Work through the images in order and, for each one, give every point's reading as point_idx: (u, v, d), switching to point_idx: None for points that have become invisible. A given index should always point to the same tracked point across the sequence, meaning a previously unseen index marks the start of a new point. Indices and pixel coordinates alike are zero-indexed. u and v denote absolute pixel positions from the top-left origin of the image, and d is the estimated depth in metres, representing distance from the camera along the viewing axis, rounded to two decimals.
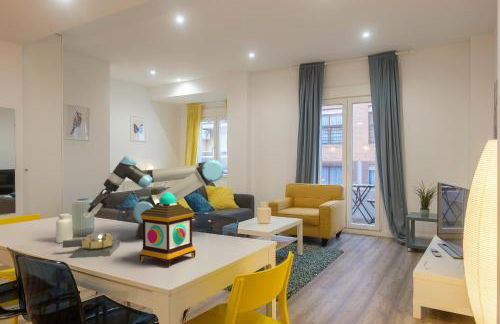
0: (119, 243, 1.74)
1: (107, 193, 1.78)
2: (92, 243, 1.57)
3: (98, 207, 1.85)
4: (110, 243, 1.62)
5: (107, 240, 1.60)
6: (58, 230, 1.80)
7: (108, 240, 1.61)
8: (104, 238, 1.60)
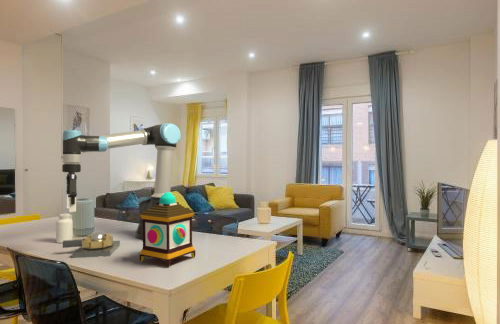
0: (119, 243, 1.74)
1: None
2: (92, 243, 1.57)
3: None
4: (110, 243, 1.62)
5: (107, 240, 1.60)
6: (58, 230, 1.80)
7: (108, 240, 1.61)
8: (104, 238, 1.60)
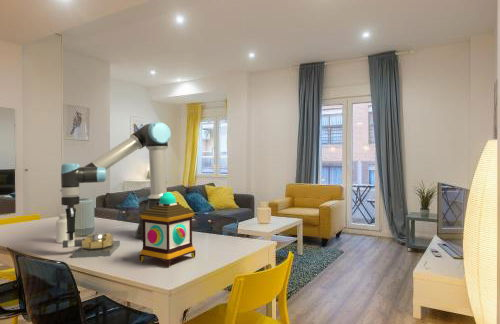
0: (119, 243, 1.74)
1: (74, 211, 1.57)
2: (92, 243, 1.57)
3: None
4: (110, 243, 1.62)
5: (107, 240, 1.60)
6: (58, 230, 1.80)
7: (108, 240, 1.61)
8: (104, 238, 1.60)
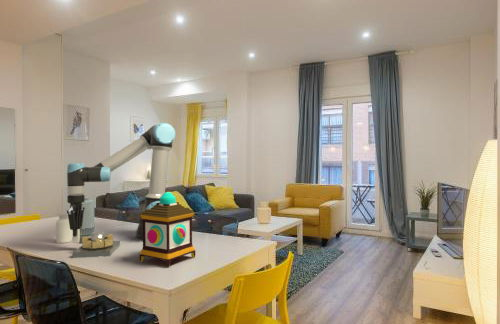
0: (119, 243, 1.74)
1: (76, 209, 1.64)
2: (84, 242, 1.58)
3: None
4: (102, 245, 1.58)
5: (97, 242, 1.57)
6: (58, 230, 1.80)
7: (99, 242, 1.58)
8: None
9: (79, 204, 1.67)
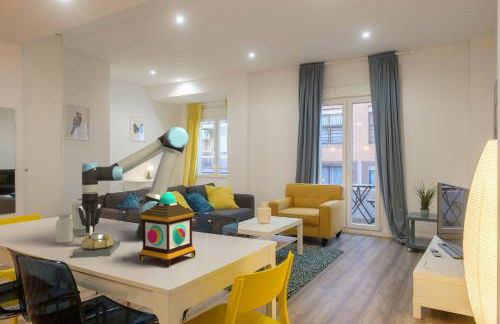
0: (119, 243, 1.74)
1: (87, 206, 1.70)
2: (82, 241, 1.61)
3: None
4: (91, 246, 1.57)
5: (87, 242, 1.57)
6: (58, 230, 1.80)
7: (89, 242, 1.57)
8: None
9: (93, 202, 1.73)
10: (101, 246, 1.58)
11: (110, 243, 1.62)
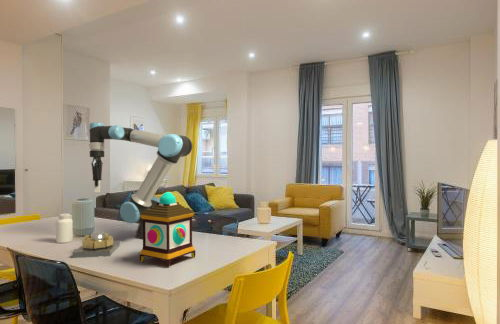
0: (119, 243, 1.74)
1: (98, 162, 1.88)
2: (82, 241, 1.61)
3: None
4: (91, 246, 1.57)
5: (87, 242, 1.57)
6: (58, 230, 1.80)
7: (89, 242, 1.57)
8: None
9: (99, 159, 1.91)
10: (101, 246, 1.58)
11: (110, 243, 1.62)
